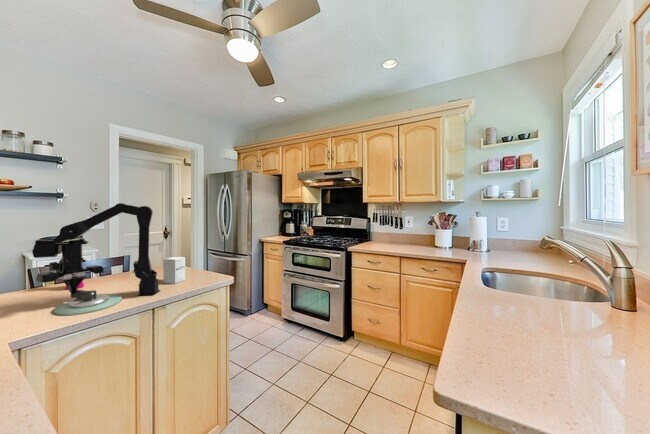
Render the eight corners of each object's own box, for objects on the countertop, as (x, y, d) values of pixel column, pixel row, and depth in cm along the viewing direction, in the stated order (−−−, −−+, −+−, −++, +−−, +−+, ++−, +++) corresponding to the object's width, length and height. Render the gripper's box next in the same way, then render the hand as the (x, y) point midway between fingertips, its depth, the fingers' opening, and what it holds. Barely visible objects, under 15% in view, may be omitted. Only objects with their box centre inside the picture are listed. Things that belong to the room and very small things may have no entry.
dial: (116, 298, 108) (116, 288, 107) (83, 309, 96) (82, 298, 96) (89, 294, 112) (89, 285, 112) (54, 304, 100) (54, 294, 100)
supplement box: (175, 284, 131) (174, 259, 130) (163, 283, 133) (162, 258, 132) (186, 280, 138) (185, 256, 138) (174, 279, 140) (173, 256, 139)
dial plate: (132, 295, 115) (132, 292, 114) (98, 314, 95) (98, 310, 95) (83, 297, 112) (82, 294, 112) (37, 316, 92) (37, 313, 92)
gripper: (90, 251, 115) (90, 286, 115) (29, 257, 98) (29, 298, 98) (104, 253, 111) (104, 289, 111) (43, 260, 94) (43, 303, 94)
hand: (72, 294), depth 104 cm, fingers closed
